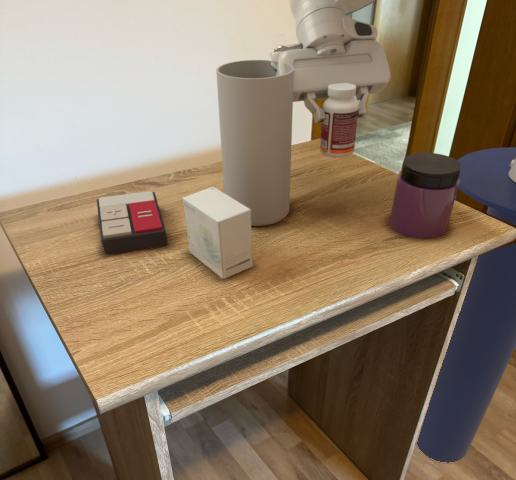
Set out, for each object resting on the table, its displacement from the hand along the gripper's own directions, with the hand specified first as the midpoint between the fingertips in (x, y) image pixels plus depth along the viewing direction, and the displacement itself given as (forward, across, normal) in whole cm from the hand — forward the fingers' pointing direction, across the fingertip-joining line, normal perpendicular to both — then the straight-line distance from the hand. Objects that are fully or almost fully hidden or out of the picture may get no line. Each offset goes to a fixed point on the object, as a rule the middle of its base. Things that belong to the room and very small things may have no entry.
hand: (341, 118), depth 84 cm
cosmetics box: (+20, -25, +4) cm, 33 cm away
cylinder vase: (+10, -15, +14) cm, 23 cm away
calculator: (+10, -39, +14) cm, 42 cm away
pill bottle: (+4, 0, +5) cm, 6 cm away
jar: (+19, +13, +5) cm, 24 cm away
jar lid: (+12, +13, -3) cm, 17 cm away
